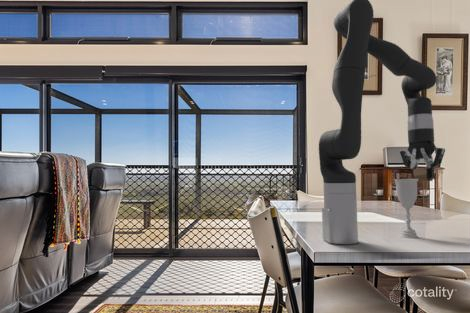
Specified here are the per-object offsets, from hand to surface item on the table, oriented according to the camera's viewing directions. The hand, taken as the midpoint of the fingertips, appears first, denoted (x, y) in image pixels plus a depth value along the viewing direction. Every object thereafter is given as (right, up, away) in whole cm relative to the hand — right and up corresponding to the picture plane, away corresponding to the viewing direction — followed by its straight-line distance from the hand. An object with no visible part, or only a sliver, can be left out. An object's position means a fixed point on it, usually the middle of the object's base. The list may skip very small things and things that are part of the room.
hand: (422, 179), depth 103 cm
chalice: (-8, -18, -6) cm, 20 cm away
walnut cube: (0, 0, 0) cm, 0 cm away
